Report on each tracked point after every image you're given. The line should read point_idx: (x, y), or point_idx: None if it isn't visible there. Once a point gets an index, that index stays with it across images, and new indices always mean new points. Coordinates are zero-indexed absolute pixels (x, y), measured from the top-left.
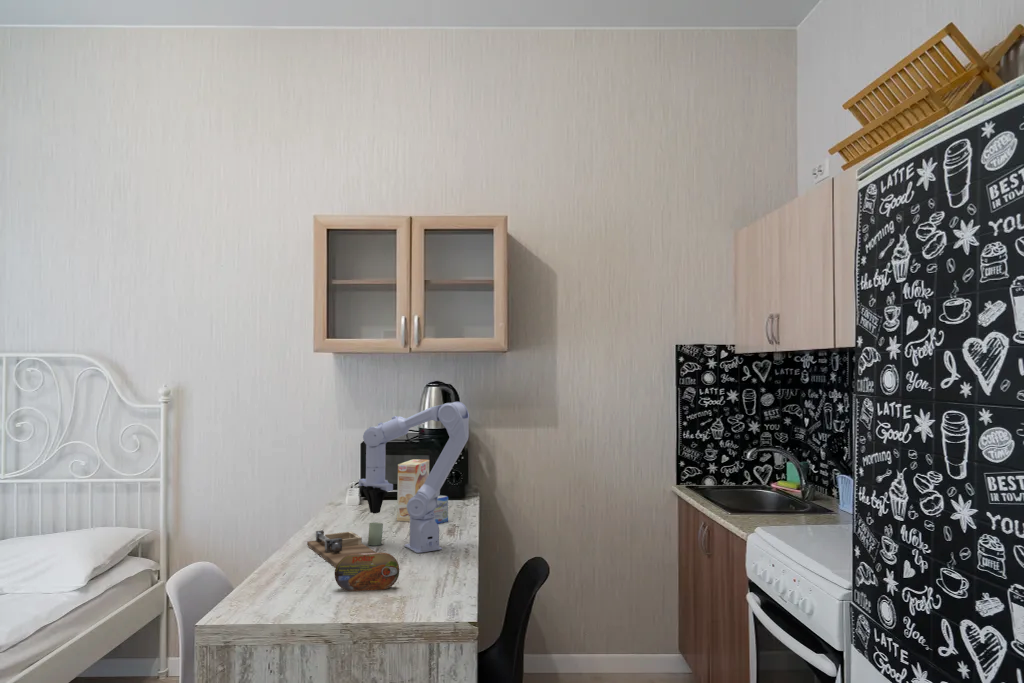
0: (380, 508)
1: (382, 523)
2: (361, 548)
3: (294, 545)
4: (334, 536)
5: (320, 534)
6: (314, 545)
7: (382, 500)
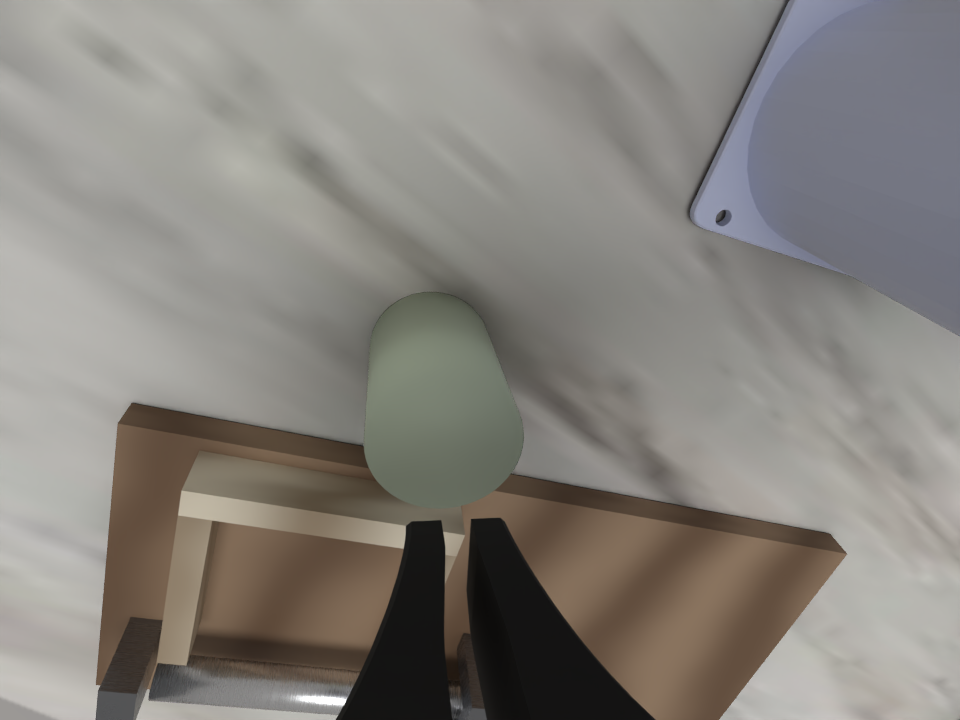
0: (521, 558)
1: (470, 376)
2: (551, 544)
3: (45, 699)
4: (200, 602)
5: (168, 701)
6: None
7: (595, 667)
